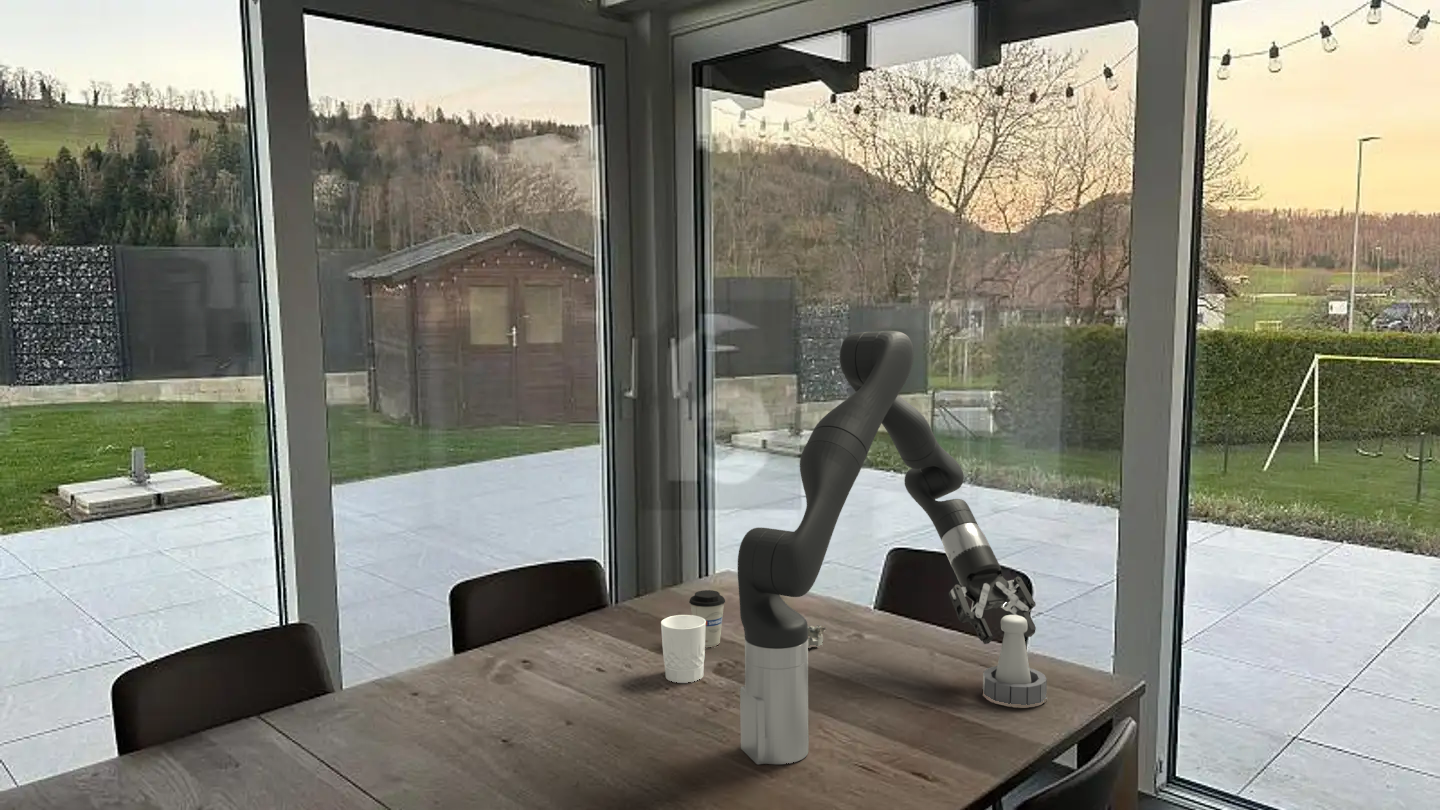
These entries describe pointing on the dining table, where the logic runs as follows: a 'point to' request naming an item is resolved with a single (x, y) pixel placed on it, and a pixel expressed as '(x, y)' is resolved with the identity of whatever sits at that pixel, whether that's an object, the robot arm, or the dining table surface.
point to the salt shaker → (1013, 652)
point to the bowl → (1015, 688)
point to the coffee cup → (709, 613)
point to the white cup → (683, 647)
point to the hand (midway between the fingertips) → (1010, 638)
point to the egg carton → (815, 635)
